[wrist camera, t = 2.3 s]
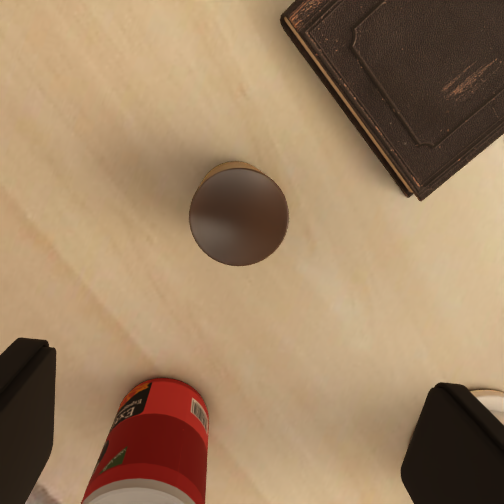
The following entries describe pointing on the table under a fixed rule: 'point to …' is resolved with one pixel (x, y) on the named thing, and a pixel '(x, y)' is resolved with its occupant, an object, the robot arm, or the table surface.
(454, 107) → the hardcover book
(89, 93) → the table surface
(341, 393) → the table surface
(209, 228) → the walnut cylinder
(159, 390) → the canned food
